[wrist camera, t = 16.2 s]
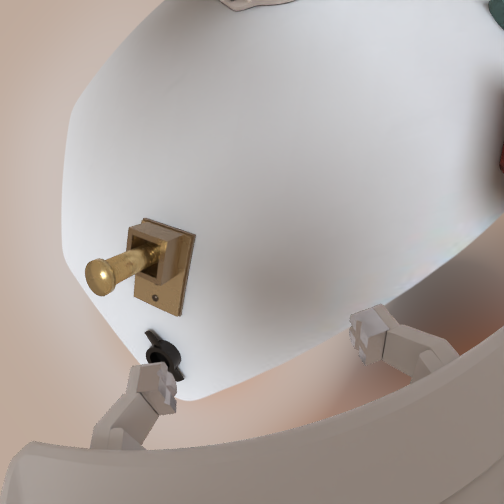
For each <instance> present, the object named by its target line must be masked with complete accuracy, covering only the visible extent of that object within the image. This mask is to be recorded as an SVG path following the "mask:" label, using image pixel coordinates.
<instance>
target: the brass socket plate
mask: <svg viewBox="0 0 504 504" xmlns="http://www.w3.org/2000/svg"><path fill="white" fill-rule="evenodd" d="M195 237H196V235H195V234H192V233H189V232H186V231H183V230H180V229H177V228H174V227H171V226H168V225H165V224H162V223H159V222H156V221H153V220H151V219H148V218H143V220H142V222H141V224H139V225H135V226H132V227H129V230H128V239H127V248H126V252H127V251H129V250H132V249H134V248H137V247H139V246H142V245H144V244H147V243H149V242H153V243H156V244H158V245H161V249H160V256H159V262H157V263H155V264H153V265H151V266H149V267H147V268H146V269H144V270H142V271H140V272H138V273H136V274H135V286H134V297H136V298H138V299H140V300H142V301H144V302H146V303H148V304H151V305H153V306H155V307H157V308H159V309H161V310H163V311H166V312H168V313H170V314H172V315H174V316H181V315H182V309H183V303H184V297H185V291H186V285H187V279H188V274H189V268H190V263H191V257H192V252H193V247H194V242H195Z"/></svg>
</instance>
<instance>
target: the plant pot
mask: <svg viewBox="0 0 504 504" xmlns="http://www.w3.org/2000/svg"><path fill="white" fill-rule="evenodd" d="M500 169H501V171H502V172H503V173H504V144H503V149H502V154H501V159H500Z"/></svg>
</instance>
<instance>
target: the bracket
mask: <svg viewBox="0 0 504 504" xmlns="http://www.w3.org/2000/svg"><path fill="white" fill-rule="evenodd" d="M489 9H490V12H491V14H492V16H493V18H494V19H495V20H496V22H497V23H498V24H499V25H500V26H501V27H502V28H503V29H504V0H490V1H489Z"/></svg>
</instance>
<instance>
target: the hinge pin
mask: <svg viewBox="0 0 504 504" xmlns="http://www.w3.org/2000/svg"><path fill="white" fill-rule="evenodd" d="M160 249H161V245H158V244H156V243H153V242H149V243H147V244H144V245H142V246H139V247H137V248H134V249H132V250H129V251H127V252H124V253H122V254H119V255H117V256H114V257H112V258H110V259H107V260H104V259H100V258H99V259H95V260H93V261H91V262H89V263H88V264H87V266H86V269H85V277H86V281H87V284H88V286H89V287H90V289H91V290H92V291H93V292H94V293H95V294H96V295H98V296H105V295H107V294H109V293H111V292H112V291H113V290H114V288H115V286H116V284H118V283H119V282H121V281H123V280H125V279H127V278H129V277H131V276H132V275H134V274H136V273H138V272H140V271H142V270H144V269H146V268H147V267H149V266H151V265H153V264H155V263H157V262H159V256H160Z"/></svg>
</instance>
